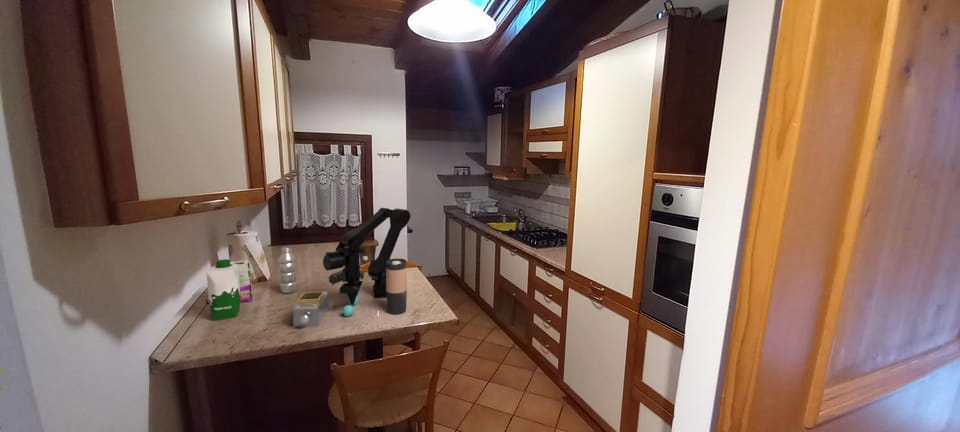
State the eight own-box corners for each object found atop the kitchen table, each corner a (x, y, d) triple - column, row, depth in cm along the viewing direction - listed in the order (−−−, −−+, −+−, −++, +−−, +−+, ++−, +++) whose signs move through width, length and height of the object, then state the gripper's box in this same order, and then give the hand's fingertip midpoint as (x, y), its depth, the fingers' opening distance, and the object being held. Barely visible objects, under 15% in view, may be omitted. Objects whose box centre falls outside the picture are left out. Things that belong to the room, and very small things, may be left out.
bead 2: (359, 302, 137) (359, 293, 137) (357, 306, 134) (357, 296, 133) (349, 302, 137) (348, 293, 136) (347, 307, 133) (346, 297, 132)
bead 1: (354, 313, 128) (354, 303, 127) (353, 317, 124) (352, 307, 123) (343, 313, 127) (343, 303, 126) (341, 318, 123) (341, 308, 122)
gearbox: (328, 308, 131) (328, 288, 129) (316, 329, 115) (315, 305, 113) (306, 310, 129) (305, 289, 128) (291, 330, 113) (289, 307, 112)
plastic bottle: (301, 289, 149) (298, 245, 146) (291, 295, 142) (288, 249, 139) (287, 288, 150) (284, 245, 147) (276, 294, 143) (273, 248, 140)
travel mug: (400, 305, 136) (399, 257, 133) (410, 311, 131) (410, 261, 128) (383, 310, 131) (382, 260, 128) (393, 317, 125) (392, 265, 122)
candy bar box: (252, 296, 140) (249, 258, 138) (252, 300, 136) (249, 261, 134) (219, 301, 134) (215, 262, 132) (217, 306, 130) (213, 265, 128)
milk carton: (243, 308, 129) (238, 258, 126) (239, 318, 121) (234, 264, 118) (214, 312, 125) (209, 260, 122) (208, 322, 117) (202, 267, 114)
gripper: (335, 258, 140) (337, 294, 143) (324, 273, 122) (325, 313, 124) (363, 258, 142) (364, 293, 145) (356, 272, 124) (357, 311, 126)
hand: (353, 302), depth 135 cm, fingers closed on bead 2, 4 cm apart
